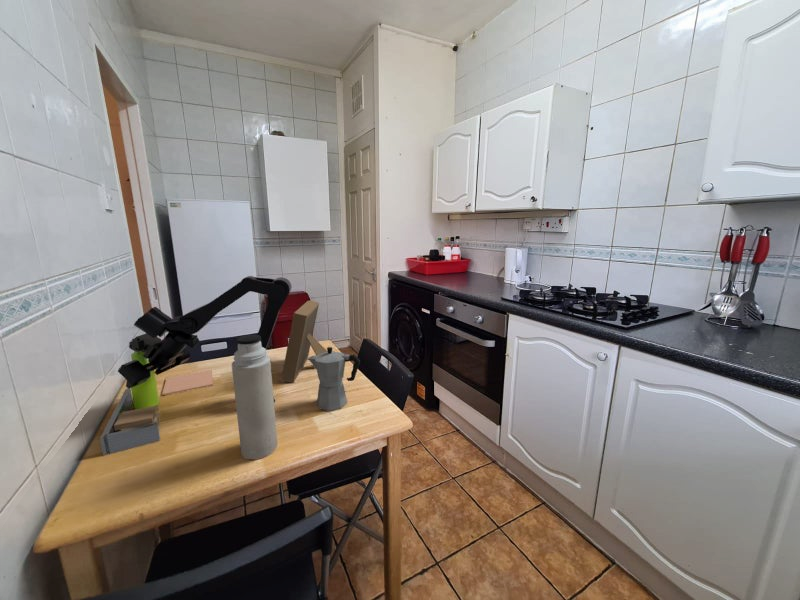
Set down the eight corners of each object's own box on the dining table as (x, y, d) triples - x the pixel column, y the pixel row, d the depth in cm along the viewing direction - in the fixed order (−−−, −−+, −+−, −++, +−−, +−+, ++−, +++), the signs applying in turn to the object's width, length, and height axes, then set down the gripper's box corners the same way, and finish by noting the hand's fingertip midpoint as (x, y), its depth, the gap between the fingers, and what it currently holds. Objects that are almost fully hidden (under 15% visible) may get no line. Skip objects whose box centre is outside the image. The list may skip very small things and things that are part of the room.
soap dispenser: (138, 414, 91) (127, 347, 88) (132, 407, 96) (121, 342, 92) (163, 406, 96) (153, 342, 92) (155, 399, 100) (146, 338, 97)
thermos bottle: (250, 438, 81) (239, 332, 75) (281, 438, 81) (273, 331, 76) (235, 460, 73) (221, 343, 67) (270, 459, 73) (259, 342, 68)
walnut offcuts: (158, 431, 84) (155, 417, 83) (116, 442, 79) (113, 426, 79) (161, 416, 91) (159, 402, 90) (123, 425, 86) (120, 411, 86)
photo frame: (281, 383, 111) (276, 313, 106) (297, 359, 132) (294, 300, 128) (324, 382, 112) (321, 313, 107) (333, 359, 133) (331, 300, 128)
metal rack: (159, 440, 80) (157, 424, 79) (103, 455, 74) (99, 438, 74) (170, 394, 103) (168, 381, 102) (127, 402, 98) (125, 389, 97)
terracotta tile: (212, 385, 109) (212, 383, 109) (162, 395, 102) (162, 394, 102) (212, 371, 121) (211, 369, 121) (166, 379, 114) (166, 377, 114)
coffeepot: (306, 411, 93) (302, 353, 90) (314, 395, 102) (311, 342, 99) (359, 411, 93) (357, 352, 90) (362, 395, 102) (361, 342, 99)
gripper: (177, 317, 99) (150, 350, 103) (118, 336, 81) (88, 374, 85) (203, 343, 100) (175, 374, 103) (150, 366, 82) (119, 403, 85)
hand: (142, 380), depth 94 cm, fingers open, 9 cm apart
